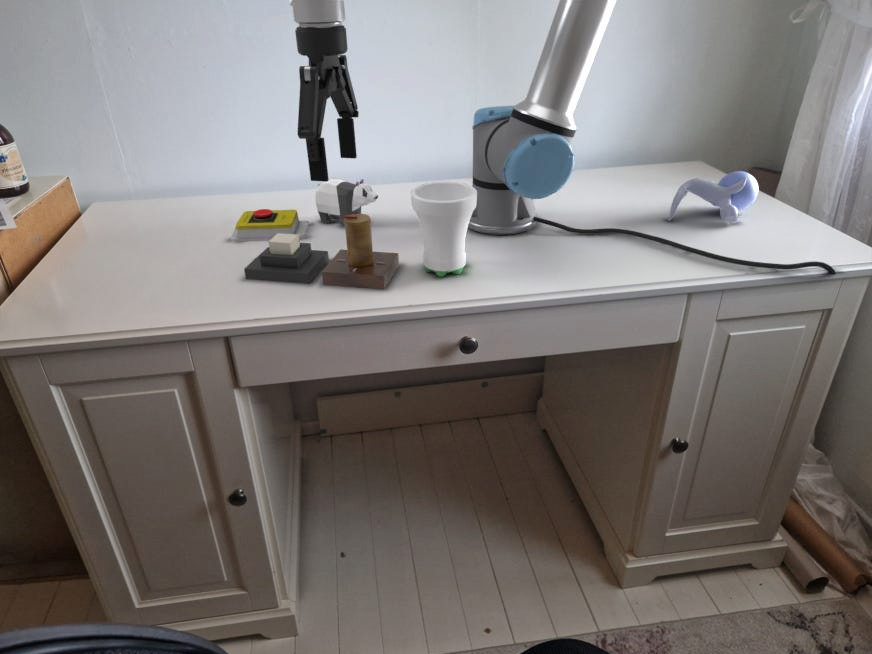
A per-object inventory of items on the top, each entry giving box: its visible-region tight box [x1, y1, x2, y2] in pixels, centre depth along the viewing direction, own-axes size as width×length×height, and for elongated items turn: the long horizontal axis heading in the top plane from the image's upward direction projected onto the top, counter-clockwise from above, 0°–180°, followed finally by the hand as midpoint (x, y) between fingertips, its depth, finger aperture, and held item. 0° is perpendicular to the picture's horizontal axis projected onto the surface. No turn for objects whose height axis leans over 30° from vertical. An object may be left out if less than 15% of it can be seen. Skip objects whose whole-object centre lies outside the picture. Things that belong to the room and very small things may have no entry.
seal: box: [667, 170, 759, 224], centre depth 131 cm, size 8×12×20 cm
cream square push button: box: [268, 233, 301, 255], centre depth 112 cm, size 4×4×3 cm
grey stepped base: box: [243, 242, 330, 285], centre depth 113 cm, size 12×10×4 cm
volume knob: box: [344, 213, 374, 267], centre depth 108 cm, size 4×4×8 cm
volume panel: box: [321, 249, 400, 290], centre depth 111 cm, size 11×10×3 cm
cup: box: [410, 181, 477, 278], centre depth 109 cm, size 11×11×14 cm
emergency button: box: [229, 208, 311, 243], centre depth 129 cm, size 9×4×15 cm
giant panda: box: [315, 178, 379, 227], centre depth 131 cm, size 15×6×10 cm, turn 62°
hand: (335, 168), depth 105 cm, fingers open, 13 cm apart
